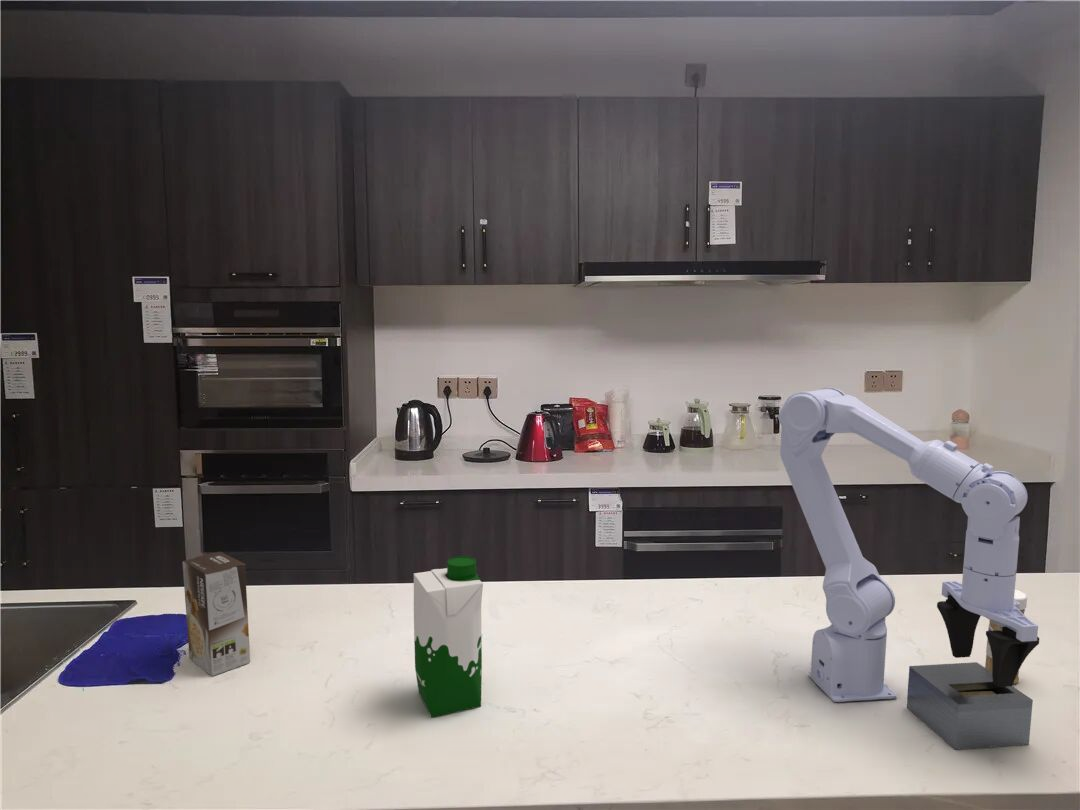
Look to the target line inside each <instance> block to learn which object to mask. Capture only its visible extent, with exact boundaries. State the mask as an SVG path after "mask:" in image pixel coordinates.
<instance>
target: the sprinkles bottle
mask: <svg viewBox="0 0 1080 810" xmlns="http://www.w3.org/2000/svg"><path fill="white" fill-rule="evenodd" d="M1014 600H1015V601H1017V602H1019V603H1020V608H1019V610H1020V611H1021V612H1022V613H1023V614H1024V615H1025V611H1026V608H1027V605H1028V603H1027V602H1028V596H1027V594H1026V593H1024V592H1023V591H1020V590H1018V589H1015V594H1014ZM987 629H988V630H987V631H996V630H1001V631H1002V627H1001V626H999V625H998V624H996V623H994V622H993V621H991V620H989V622H988V628H987ZM986 638H987V637H986ZM985 653H986V654H985V664H984V665H985V666H984V667H985V668H986V669H988V670H989V671H991V672H992V653H991V648H990V644H989V641H988V638H987V639H986V649H985ZM1019 673H1020V670H1019V671H1018V673H1017V676H1016V678H1015V680H1014V683H1013V685H1014V684H1018V683H1019V680H1020V677H1019Z"/></svg>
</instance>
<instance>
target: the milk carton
mask: <svg viewBox="0 0 1080 810" xmlns="http://www.w3.org/2000/svg"><path fill="white" fill-rule="evenodd" d="M483 589H484V583H483V582H482V581H481V578H480V577H479V574H478V573H477V560H476V559H475V558H474V557H470V556H456V557H452V558H449V559H448V560H447V561H446V568H444V567H443V568H434V569H431V570H430V571H429V570H428V571H423V572H415V573H413V638H414V641H413V643H414V670H415V677H416V683H417V689H418V694H419V696H420V698H421V700H422V702H423V704H424V706H425V708H426V710H427V711H428V714H429V715H430V717H431V718H435V717H439V716H443V715H444V716H445V715H449V714H454V713H457V712H461V711H462V712H464V711H467V710H471V709H475V708H480V707H482V685H483V684H482V674H483V671H482V670H483V669H482V668H483V667H482V666H483V664H482V663H483V659H482V658H483V657H482V653H483V651H482V649H483V647H482V645H483V644H482V641H483V640H482V603H483V602H482V601H483V599H482V598H483V591H484V590H483Z"/></svg>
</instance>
